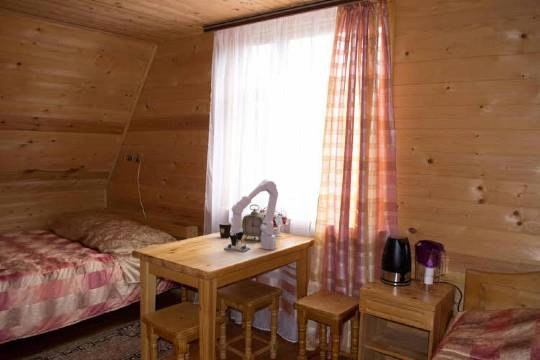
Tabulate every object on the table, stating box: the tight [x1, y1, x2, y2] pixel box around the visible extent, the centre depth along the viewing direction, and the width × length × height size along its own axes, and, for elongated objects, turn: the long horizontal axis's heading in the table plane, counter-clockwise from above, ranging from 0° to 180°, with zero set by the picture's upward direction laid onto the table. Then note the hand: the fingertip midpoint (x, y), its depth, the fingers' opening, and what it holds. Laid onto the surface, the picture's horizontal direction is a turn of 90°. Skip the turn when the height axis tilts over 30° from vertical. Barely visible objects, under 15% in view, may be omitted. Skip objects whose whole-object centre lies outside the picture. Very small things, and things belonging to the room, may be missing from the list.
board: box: [223, 243, 251, 253], centre depth 286 cm, size 14×9×3 cm, turn 69°
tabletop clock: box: [241, 204, 265, 242], centre depth 313 cm, size 14×9×25 cm, turn 73°
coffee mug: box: [218, 221, 232, 239], centre depth 318 cm, size 12×9×10 cm
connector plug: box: [230, 240, 242, 249], centre depth 286 cm, size 5×4×5 cm
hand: (236, 244), depth 286 cm, fingers open, 7 cm apart
